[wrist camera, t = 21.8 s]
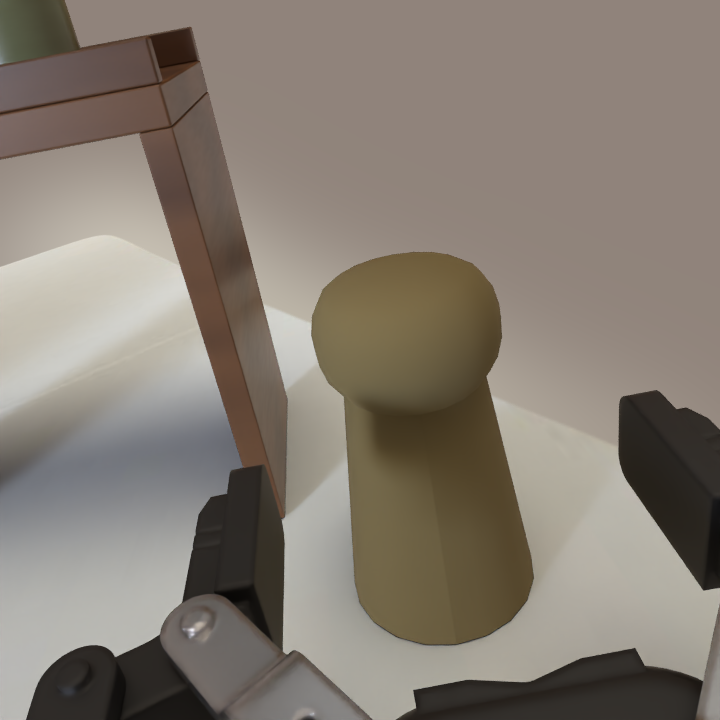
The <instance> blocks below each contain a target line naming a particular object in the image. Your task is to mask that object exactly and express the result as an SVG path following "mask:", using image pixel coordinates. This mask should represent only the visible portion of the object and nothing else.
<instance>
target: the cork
mask: <svg viewBox="0 0 720 720" xmlns="http://www.w3.org/2000/svg"><path fill="white" fill-rule="evenodd" d="M311 336H312V340H313V344H314V348H315V352H316V356H317V359H318V363H319V366H320V368H321V370H322V372H323V374H324V375H325V377H326V379H327V381H328V383H329V384H330V385H331V386H332V387H333V388H334V389H336V390H337V391H338V392H339V393H340V394H342V395H343V396H344V406H345V423H346V440H347V457H348V474H349V491H350V508H351V525H352V542H353V559H354V576H355V585H356V589H357V593H358V597H359V601H360V604H361V605H362V607H363V608H364V609H365V611H366V612H367V613H368V615H369V616H370V617H371V619H372V620H373V621H374V622H375V623H376V624H378V625H379V626H381V627H382V628H384V629H386V630H387V631H389V632H390V633H392V634H393V635H395V636H396V637H400V638H403V639H407V640H411V641H414V642H418V643H422V644H459V643H463V642H466V641H470V640H473V639H477V638H480V637H484V636H487V635H488V634H490V633H491V632H493V631H495V630H496V629H498V628H499V627H501V626H503V625H504V624H506V623H507V622H509V621H510V620H511V619H512V618H513V617H514V616H515V614H516V613H517V612H518V611H519V609H520V608H521V607H522V606H523V604H524V603H525V602H526V601H527V599H528V595H529V592H530V589H531V585H532V582H533V579H534V576H533V568H532V560H531V554H530V550H529V546H528V542H527V538H526V534H525V530H524V526H523V522H522V518H521V514H520V510H519V506H518V502H517V498H516V494H515V490H514V486H513V482H512V478H511V474H510V470H509V466H508V462H507V458H506V454H505V450H504V446H503V442H502V437H501V433H500V429H499V425H498V421H497V417H496V413H495V409H494V405H493V401H492V397H491V393H490V389H489V385H488V381H487V377H486V376H487V374H488V373H489V372H490V370H491V368H492V366H493V364H494V363H495V360H496V359H497V357H498V353H499V348H500V343H501V339H502V332H501V315H500V307H499V302H498V300H497V297H496V294H495V291H494V289H493V286H492V285H491V283H490V282H489V281H488V280H487V279H486V277H485V276H484V275H483V274H482V272H481V271H480V270H479V269H478V268H477V267H475V266H474V265H473V264H472V263H470V262H467V261H464V260H462V259H459V258H457V257H454V256H451V255H448V254H441V253H434V252H410V253H402V254H394V255H389V256H384V257H380V258H376V259H372V260H369V261H366V262H364V263H361V264H358V265H356V266H354V267H352V268H350V269H348V270H346V271H345V272H343V273H341V274H340V275H339V276H337V277H336V278H335V279H334V280H332V281H331V282H330V283H329V284H328V285H327V286H326V287H325V288H324V289H323V290H322V293H321V295H320V297H319V300H318V302H317V305H316V308H315V310H314V313H313V315H312V330H311Z"/></svg>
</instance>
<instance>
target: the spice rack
mask: <svg viewBox="0 0 720 720" xmlns="http://www.w3.org/2000/svg"><path fill="white" fill-rule="evenodd" d="M138 133H140V138H141V142H142V145H143V148H144V151H145V154H146V157H147V160H148V164H149V167H150V170H151V173H152V177H153V180H154V183H155V186H156V189H157V192H158V195H159V199H160V202H161V205H162V209H163V212H164V215H165V218H166V222H167V225H168V228H169V231H170V234H171V238H172V241H173V244H174V247H175V250H176V254H177V257H178V260H179V263H180V266H181V270H182V273H183V276H184V279H185V282H186V286H187V289H188V292H189V295H190V298H191V302H192V305H193V308H194V311H195V314H196V318H197V321H198V324H199V327H200V330H201V334H202V337H203V340H204V343H205V347H206V350H207V353H208V356H209V359H210V363H211V366H212V369H213V372H214V375H215V379H216V382H217V385H218V388H219V391H220V395H221V398H222V401H223V404H224V407H225V411H226V414H227V417H228V420H229V423H230V427H231V430H232V433H233V436H234V439H235V443H236V446H237V449H238V452H239V455H240V459H241V462H242V465H243V468H246V467H251V466H256V465H261V464H264V465H265V467H266V469H267V472H268V475H269V479H270V482H271V486H272V489H273V492H274V496H275V499H276V503H277V506H278V509H279V513H280V516H281V518H284V517H285V484H286V442H287V396H286V392H285V388H284V384H283V380H282V376H281V373H280V369H279V365H278V361H277V357H276V353H275V349H274V345H273V342H272V338H271V334H270V330H269V326H268V322H267V318H266V314H265V311H264V307H263V303H262V299H261V296H260V291H259V287H258V283H257V279H256V276H255V272H254V268H253V264H252V260H251V256H250V252H249V248H248V245H247V241H246V237H245V233H244V230H243V226H242V221H241V217H240V214H239V210H238V206H237V202H236V198H235V194H234V190H233V186H232V182H231V179H230V175H229V171H228V167H227V163H226V159H225V155H224V152H223V148H222V144H221V140H220V136H219V132H218V128H217V124H216V120H215V117H214V113H213V109H212V105H211V101H210V97H209V94H208V92H207V86H206V82H205V78H204V74H203V70H202V67H201V63H200V61H199V55H198V51H197V47H196V43H195V39H194V35H193V31H192V28H191V27H187V28H182V29H177V30H171V31H166V32H161V33H156V34H150V35H145V36H140V37H135V38H130V39H125V40H119V41H113V42H108V43H103V44H98V45H93V46H88V47H82V48H80V45H79V42H78V40H77V36H76V33H75V30H74V28H73V25H72V22H71V18H70V15H69V12H68V10H67V6H66V3H65V0H0V160H1V159H6V158H12V157H17V156H22V155H27V154H32V153H37V152H43V151H48V150H53V149H59V148H64V147H69V146H75V145H80V144H85V143H90V142H96V141H101V140H106V139H111V138H117V137H122V136H127V135H132V134H138Z"/></svg>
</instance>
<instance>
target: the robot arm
mask: <svg viewBox="0 0 720 720" xmlns="http://www.w3.org/2000/svg"><path fill="white" fill-rule="evenodd" d="M619 461H620V465H621V469H622V472H623V474H624V476H625V478H626V480H627V482H628V483H629V485H630V486H631V487H632V489H633V490H634V492H635V493H636V495H637V496H638V497H639V499H640V500H641V502H642V503H643V505H644V506H645V507H646V509H647V510H648V512H649V513H650V515H651V516H652V517H653V519H654V520H655V522H656V523H657V525H658V526H659V527H660V529H661V530H662V532H663V533H664V535H665V536H666V538H667V539H668V540H669V542H670V543H671V545H672V546H673V548H674V549H675V550H676V552H677V553H678V555H679V556H680V558H681V559H682V560H683V562H684V563H685V565H686V566H687V568H688V569H689V570H690V572H691V573H692V575H693V576H694V578H695V579H696V581H697V582H698V583H699V585H700V586H701V588H702V589H703V591H704V590H709V589H715V588H720V430H719V429H718V428H717V427H716V426H715V425H714V424H713V423H712V422H711V421H710V420H709V419H708V418H706V417H704V416H702V415H700V414H698V413H696V412H694V411H692V410H690V409H688V408H682V409H676V408H675V407H674V406H673V405H672V404H671V403H670V402H669V401H668V400H667V399H666V398H665V397H664V396H663V395H662V394H661V393H660V392H659V391H657V390H655V391H649V392H644V393H639V394H634V395H628V396H623V397H622V398H621V399H620V404H619ZM284 547H285V543H284V532H283V525H282V520H281V516H280V513H279V509H278V506H277V503H276V499H275V496H274V492H273V489H272V486H271V482H270V479H269V475H268V472H267V469H266V467H265V465H264V464H261V465H256V466H251V467H246V468H240V469H235V470H231V472H230V477H229V484H228V491H227V494H224V495H219V496H214V497H211V498H210V499H209V501H208V502H207V504H206V505H205V506H204V508H203V509H202V511H201V512H200V514H199V516H198V522H197V527H196V536H195V537H194V543H193V550H192V553H191V559H190V564H189V569H188V575H187V580H186V585H185V590H184V596H183V601H182V604H180V605H179V606H178V607H176V608H175V609H174V610H173V611H172V612H171V613H170V614H169V615H168V617H167V618H166V620H165V621H164V623H163V625H162V628H161V632H160V635H158V636H157V637H155V638H154V639H152V640H151V641H149V642H147V643H145V644H143V645H141V646H139V647H137V648H134V649H132V650H130V651H128V652H126V653H124V654H121V655H119V656H117V657H114V655H113V653H112V652H111V651H110V650H109V649H107V648H105V647H103V646H98V645H90V646H84V647H81V648H78V649H75V650H73V651H71V652H69V653H67V654H65V655H64V656H62V657H61V658H59V659H58V660H57V661H56V662H55V663H53V664H52V665H51V666H50V667H49V668H48V669H47V670H46V672H45V673H44V674H43V676H42V677H41V679H40V681H39V682H38V685H37V687H36V690H35V693H34V696H33V699H32V702H31V706H30V709H29V712H28V715H27V718H26V720H372V719H371V718H370V717H369V716H368V715H367V714H366V713H365V712H364V711H363V710H362V709H361V708H360V707H359V706H357V705H356V704H355V703H354V702H353V701H352V700H351V699H350V698H349V697H348V696H347V695H346V694H345V693H344V692H342V691H341V690H340V689H339V688H338V687H337V686H336V685H335V684H334V683H333V682H332V681H331V680H330V679H328V678H327V677H326V676H325V675H324V674H323V673H322V672H321V671H320V670H319V669H318V668H317V667H316V666H315V665H313V664H312V663H311V662H310V661H309V660H308V659H307V658H306V657H305V656H304V655H302V654H301V653H300V652H298V651H295V650H293V651H292V652H290V653H289V654H288V655H286V654H285V653H284V652H283V599H284ZM413 691H414V697H415V703H416V709H414V710H412V711H410V712H407V713H406V714H404V715H402V716H401V717H399V718H398V719H396V720H720V605H719V610H718V614H717V619H716V624H715V629H714V633H713V638H712V643H711V648H710V652H709V657H708V662H707V667H706V671H705V676H704V681H702V680H699V679H697V678H695V677H692V676H689V675H687V674H684V673H681V672H677V671H673V670H669V669H665V668H658V667H652V666H644V664H643V662H642V660H641V658H640V656H639V654H638V652H637V651H636V649H635V648H633V649H628V650H623V651H618V652H612V653H607V654H602V655H596V656H591V657H586V658H581V659H579V660H576V661H574V662H572V663H570V664H568V665H566V666H564V667H561V668H559V669H557V670H555V671H553V672H551V673H549V674H547V675H544V676H542V677H540V678H538V679H536V680H534V681H531V682H502V681H481V680H464V681H459V682H454V683H448V684H443V685H438V686H433V687H427V688H422V689H417V690H413Z"/></svg>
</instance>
